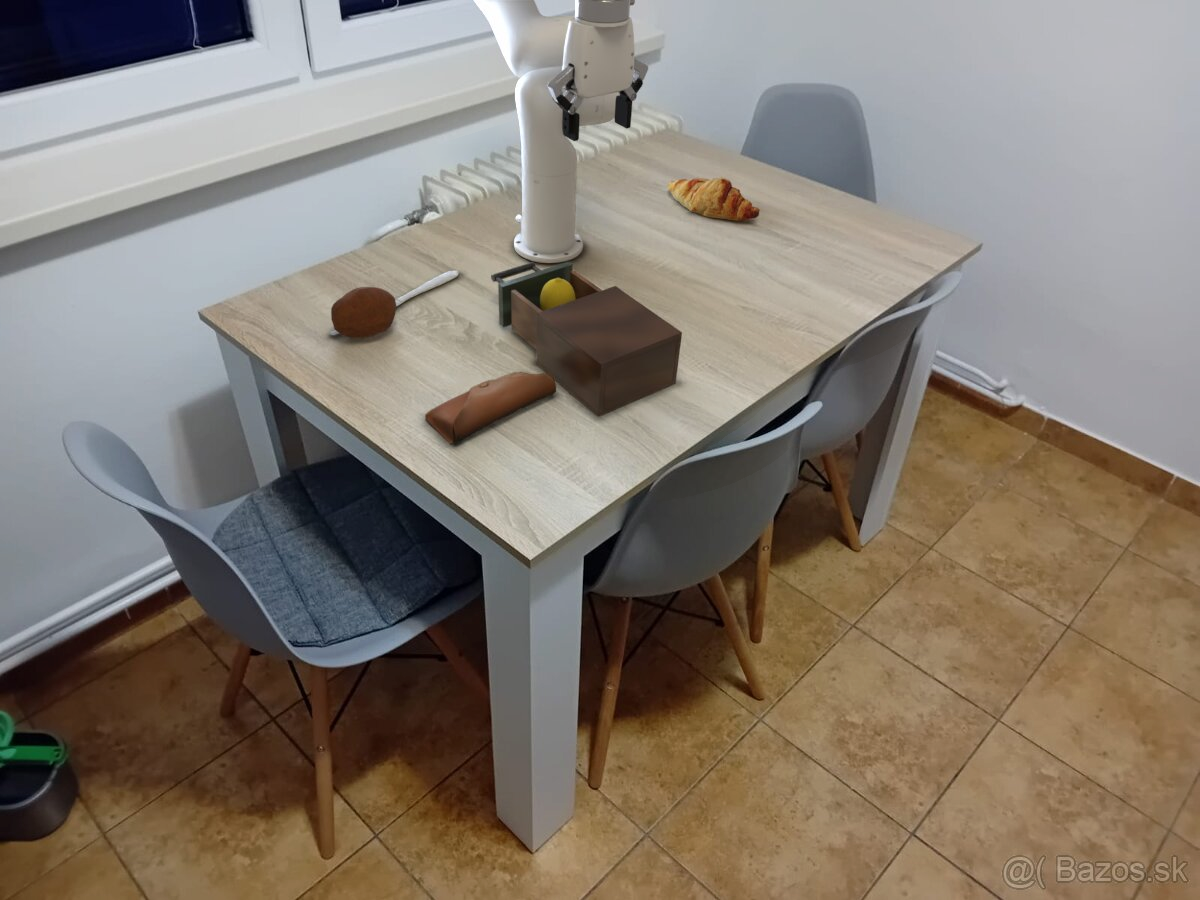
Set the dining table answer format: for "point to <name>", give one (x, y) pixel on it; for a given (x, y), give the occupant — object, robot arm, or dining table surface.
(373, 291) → the potato
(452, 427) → the sunglasses case
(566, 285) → the lemon
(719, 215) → the croissant
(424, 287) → the butter knife
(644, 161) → the dining table surface
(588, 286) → the drawer
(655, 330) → the cabinet
